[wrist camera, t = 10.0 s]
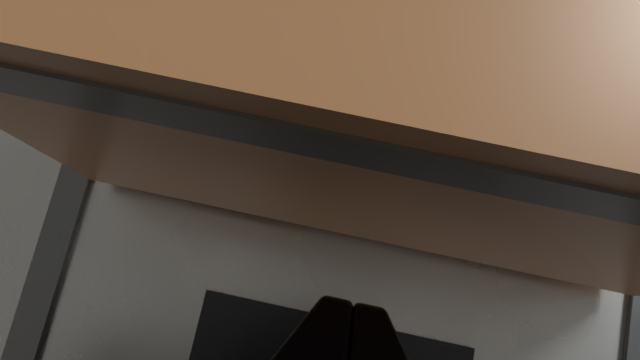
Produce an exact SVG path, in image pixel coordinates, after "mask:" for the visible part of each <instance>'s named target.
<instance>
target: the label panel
mask: <svg viewBox="0 0 640 360" xmlns="http://www.w3.org/2000/svg"><path fill="white" fill-rule="evenodd" d="M325 295H327V296H332V297H337V298H341V299H346V300H349V301H351V302H352V304H353V306H354V305H355V304H356V303H364V304H369V305H374V306H378V307H382V308H384V309H385V310H386V311H387V313H388V315H389V317H390V319H391V321H392V324H393V326H394V328H395V330H396V332H397V335H398V337H399V339H400V341H401V344H402V346H403V348H404V350H405V353H406V355H407V357H408V359H409V360H640V296H631V295H627V294H622V293H617V292H613V291H608V290H603V289H599V288H594V287H589V286H585V285H580V284H575V283H571V282H566V281H561V280H557V279H552V278H547V277H543V276H538V275H533V274H529V273H524V272H519V271H515V270H510V269H505V268H501V267H496V266H491V265H487V264H482V263H477V262H472V261H468V260H463V259H458V258H454V257H449V256H444V255H440V254H435V253H430V252H426V251H421V250H416V249H412V248H407V247H402V246H398V245H393V244H388V243H384V242H379V241H374V240H370V239H365V238H360V237H356V236H351V235H346V234H342V233H337V232H332V231H328V230H323V229H318V228H313V227H309V226H304V225H299V224H295V223H290V222H285V221H281V220H276V219H271V218H267V217H262V216H257V215H253V214H248V213H243V212H239V211H234V210H229V209H225V208H220V207H215V206H211V205H206V204H201V203H197V202H192V201H187V200H183V199H178V198H173V197H168V196H164V195H159V194H154V193H150V192H145V191H140V190H136V189H131V188H126V187H122V186H117V185H112V184H108V183H103V182H98V181H94V180H90V179H88V178H86V177H84V176H83V175H81V174H79V173H77V172H75V171H74V170H72V169H70V168H68V167H67V166H65V165H63V164H61V163H60V162H58V161H56V160H54V159H52V158H51V157H49V156H47V155H45V154H44V153H42V152H40V151H38V150H36V149H35V148H33V147H31V146H29V145H28V144H26V143H24V142H22V141H21V140H19V139H17V138H15V137H13V136H12V135H10V134H8V133H6V132H5V131H3V130H1V129H0V360H270V359H271V358H272V357H273V356H274V355H275V353H276V352H277V351H278V350H279V348H280V347H281V346H282V345H283V343H284V342H285V341H286V340H287V338H288V337H289V336H290V335H291V334H292V332H293V331H294V330H295V329H296V327H297V326H298V325H299V324H300V322H301V321H302V320H303V319H304V317H305V316H306V315H307V314H308V312H309V311H310V310H311V309H312V308H313V306H314V305H315V304H316V303H317V301H318V300H319V299H320V298H321V297H322V296H325Z"/></svg>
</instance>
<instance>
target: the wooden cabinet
mask: <svg viewBox="0 0 640 360" xmlns="http://www.w3.org/2000/svg"><path fill="white" fill-rule="evenodd" d="M0 129H1V130H3V131H5V132H6V133H8V134H10V135H12V136H13V137H15V138H17V139H19V140H21V141H22V142H24V143H26V144H28V145H29V146H31V147H33V148H35V149H36V150H38V151H40V152H42V153H44V154H45V155H47V156H49V157H51V158H52V159H54V160H56V161H58V162H60V163H61V164H63V165H65V166H67V167H68V168H70V169H72V170H74V171H75V172H77V173H79V174H81V175H83V176H84V177H86V178H88V179H90V180H94V181H98V182H103V183H108V184H112V185H117V186H122V187H126V188H131V189H136V190H140V191H145V192H150V193H154V194H159V195H164V196H168V197H173V198H178V199H183V200H187V201H192V202H197V203H201V204H206V205H211V206H215V207H220V208H225V209H229V210H234V211H239V212H243V213H248V214H253V215H257V216H262V217H267V218H271V219H276V220H281V221H285V222H290V223H295V224H299V225H304V226H309V227H313V228H318V229H323V230H328V231H332V232H337V233H342V234H346V235H351V236H356V237H360V238H365V239H370V240H374V241H379V242H384V243H388V244H393V245H398V246H402V247H407V248H412V249H416V250H421V251H426V252H430V253H435V254H440V255H444V256H449V257H454V258H458V259H463V260H468V261H472V262H477V263H482V264H487V265H491V266H496V267H501V268H505V269H510V270H515V271H519V272H524V273H529V274H533V275H538V276H543V277H547V278H552V279H557V280H561V281H566V282H571V283H575V284H580V285H585V286H589V287H594V288H599V289H603V290H608V291H613V292H617V293H622V294H627V295H631V296H640V0H0Z"/></svg>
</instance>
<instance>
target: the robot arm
mask: <svg viewBox="0 0 640 360" xmlns="http://www.w3.org/2000/svg"><path fill="white" fill-rule="evenodd" d="M270 360H409V359H408V357H407V355H406V353H405V350H404V348H403V346H402V344H401V341H400V339H399V337H398V335H397V332H396V330H395V328H394V326H393V324H392V321H391V319H390V317H389V315H388V313H387V311H386V310H385V309H384V308H382V307H378V306H374V305H369V304H364V303H356V304H355V305H354V306H353V304H352V302H351V301H349V300H346V299H341V298H337V297H332V296H327V295H325V296H322V297H321V298H320V299H319V300H318V301H317V303H316V304H315V305H314V306H313V308H312V309H311V310H310V311H309V312H308V314H307V315H306V316H305V317H304V319H303V320H302V321H301V322H300V324H299V325H298V326H297V327H296V329H295V330H294V331H293V332H292V334H291V335H290V336H289V337H288V338H287V340H286V341H285V342H284V343H283V345H282V346H281V347H280V348H279V350H278V351H277V352H276V353H275V355H274V356H273V357H272V358H271V359H270Z"/></svg>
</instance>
